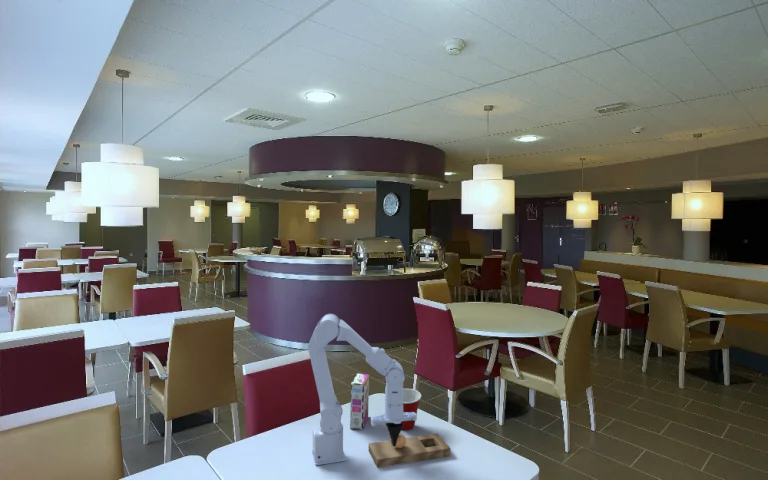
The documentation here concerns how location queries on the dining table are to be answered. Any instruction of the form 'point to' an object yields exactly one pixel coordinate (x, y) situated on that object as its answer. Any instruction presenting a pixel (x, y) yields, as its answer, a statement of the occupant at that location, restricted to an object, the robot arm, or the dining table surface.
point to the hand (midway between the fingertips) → (393, 444)
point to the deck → (409, 450)
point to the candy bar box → (359, 401)
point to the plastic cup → (410, 406)
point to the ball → (400, 441)
